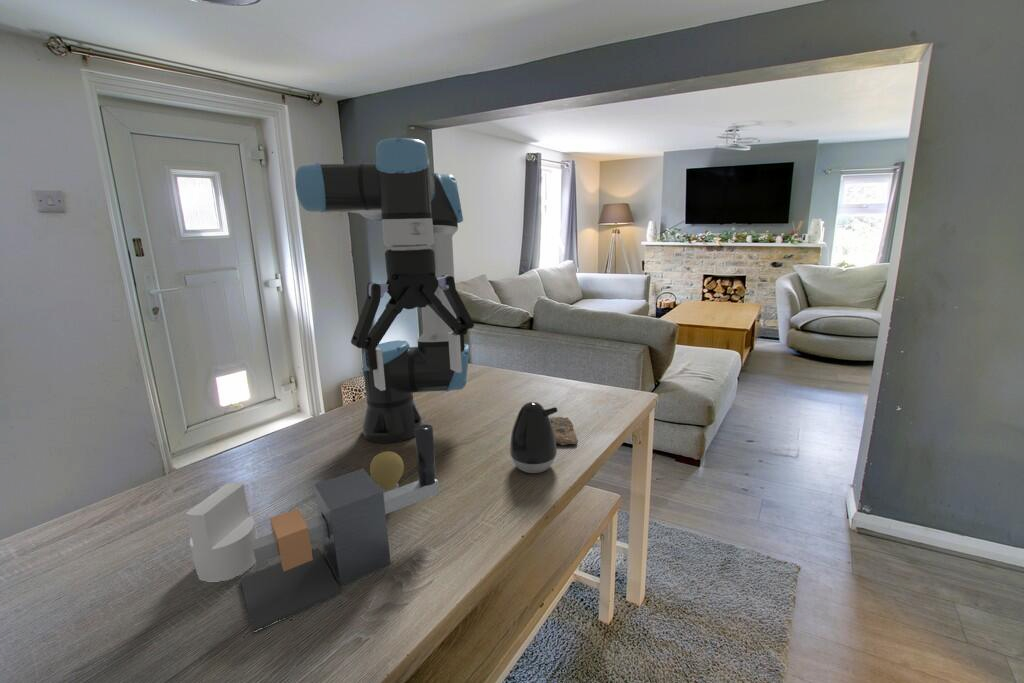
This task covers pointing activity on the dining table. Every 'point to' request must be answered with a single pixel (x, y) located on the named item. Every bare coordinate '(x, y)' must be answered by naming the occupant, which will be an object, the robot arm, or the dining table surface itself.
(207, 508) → the cylinder with rectangular tab
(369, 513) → the bearing block
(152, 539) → the dining table surface
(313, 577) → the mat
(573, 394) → the dining table surface
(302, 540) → the tan wooden block
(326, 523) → the shaft
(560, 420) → the rock
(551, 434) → the pump dispenser
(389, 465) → the light bulb
